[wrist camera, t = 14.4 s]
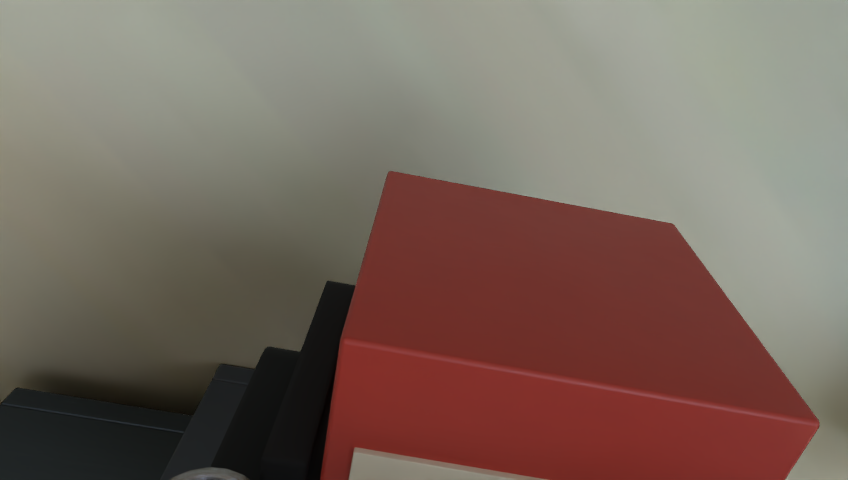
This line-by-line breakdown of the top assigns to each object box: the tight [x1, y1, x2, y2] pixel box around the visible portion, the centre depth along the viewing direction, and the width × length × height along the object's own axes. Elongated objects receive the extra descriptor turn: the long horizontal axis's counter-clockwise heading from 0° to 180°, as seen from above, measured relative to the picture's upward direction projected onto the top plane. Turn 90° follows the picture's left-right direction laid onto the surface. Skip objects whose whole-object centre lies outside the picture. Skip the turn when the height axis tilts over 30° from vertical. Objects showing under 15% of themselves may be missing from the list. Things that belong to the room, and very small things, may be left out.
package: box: [320, 171, 820, 480], centre depth 9 cm, size 5×7×4 cm, turn 170°
